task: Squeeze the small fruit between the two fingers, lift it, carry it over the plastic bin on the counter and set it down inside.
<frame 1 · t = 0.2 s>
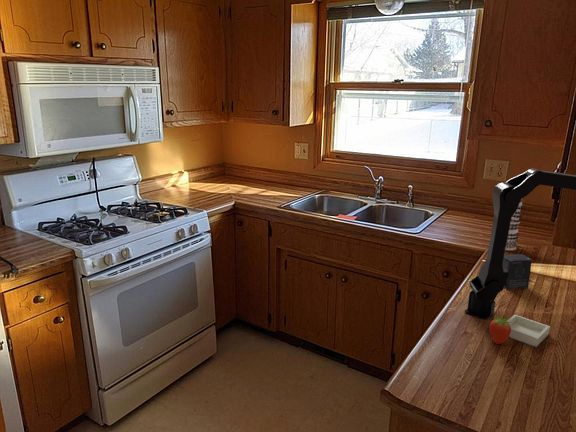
decorative candle: (505, 247, 194), on the countertop
bin: (524, 334, 125), on the countertop
box: (512, 286, 156), on the countertop
fruit: (498, 343, 120), on the countertop
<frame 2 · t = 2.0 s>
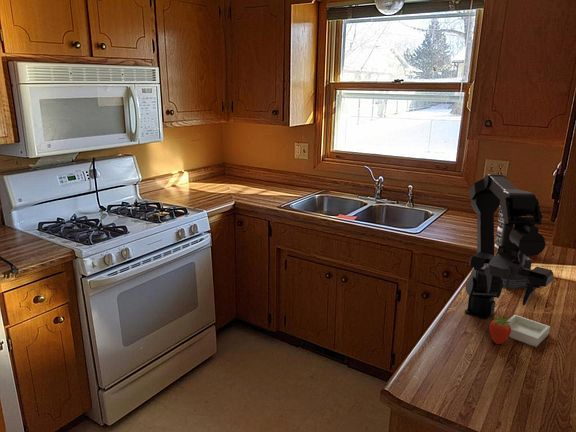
hand: (505, 298, 117), 13 cm above the countertop, tool pointing down, fingers open, 9 cm apart
nothing on the countertop moved.
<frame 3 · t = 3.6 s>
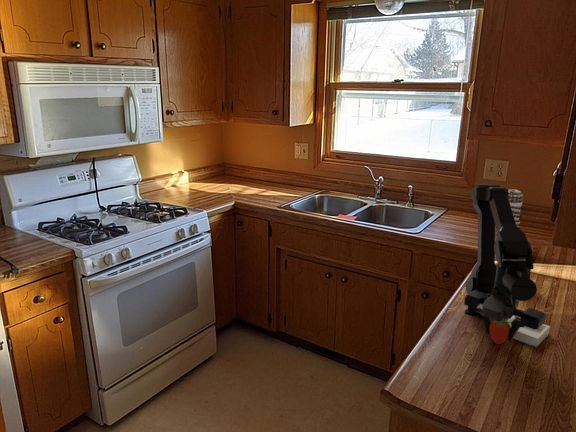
hand: (498, 337, 120), 2 cm above the countertop, tool pointing down, fingers closed on fruit, 5 cm apart
fruit: (498, 343, 120), on the countertop, touching gripper
everything else where it was.
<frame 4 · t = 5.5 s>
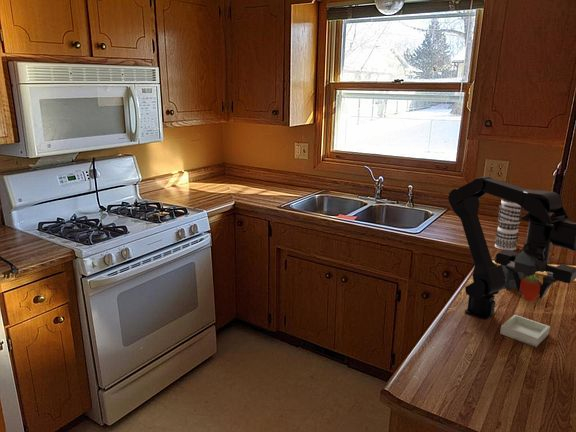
hand: (529, 294, 122), 12 cm above the countertop, tool pointing down, fingers closed on fruit, 5 cm apart
fruit: (528, 301, 122), point 10 cm above the countertop, touching gripper
everything else where it was.
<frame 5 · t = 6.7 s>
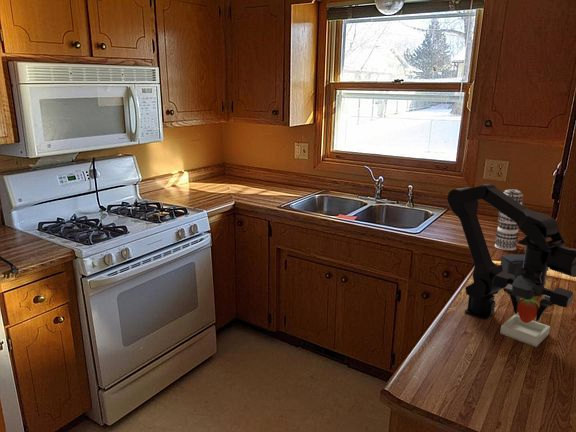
hand: (526, 316, 124), 5 cm above the countertop, tool pointing down, fingers closed on fruit, 5 cm apart
fruit: (525, 322, 124), point 3 cm above the countertop, touching gripper
everything else where it was.
when the fingers open (4 cm above the countertop, at t = 7.5 s): fruit stays where it is, resting on bin.
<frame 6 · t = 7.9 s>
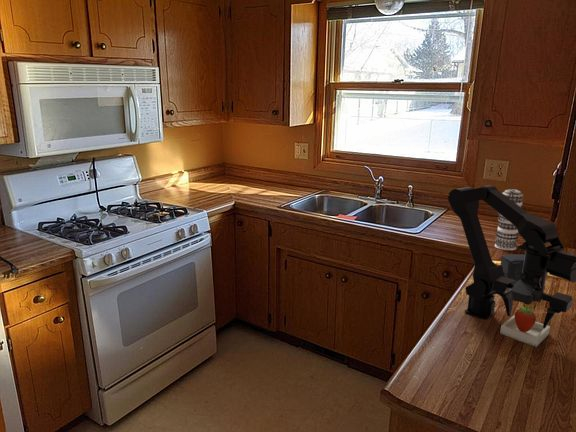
hand: (526, 321, 124), 4 cm above the countertop, tool pointing down, fingers open, 9 cm apart
fruit: (523, 332, 125), resting on bin
everything else where it was.
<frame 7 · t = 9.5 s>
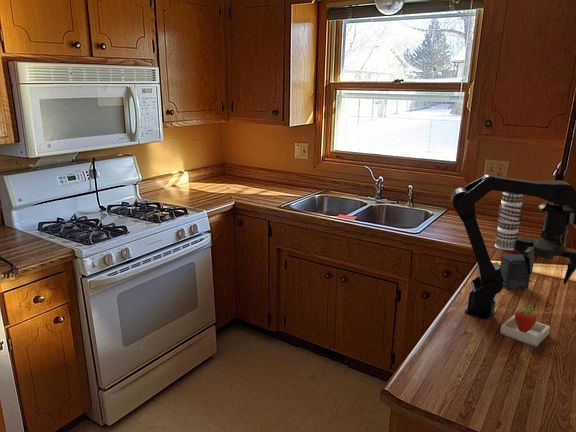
hand: (547, 279, 129), 13 cm above the countertop, tool pointing down, fingers open, 9 cm apart
nothing on the countertop moved.
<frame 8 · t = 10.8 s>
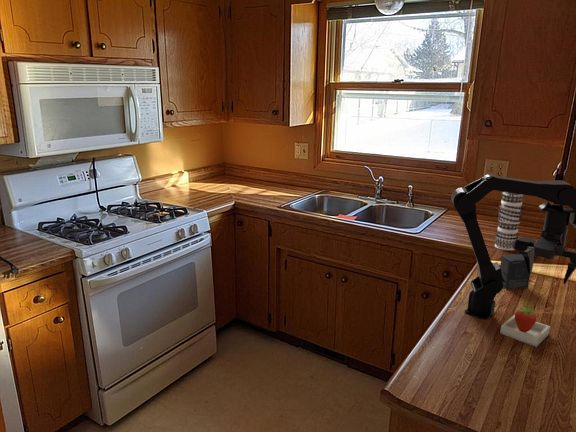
hand: (546, 278, 129), 13 cm above the countertop, tool pointing down, fingers open, 9 cm apart
nothing on the countertop moved.
at the end: fruit inside the target area on the bin (0.3 cm from its centre), point 0.4 cm above the bin's base; the gripper is holding nothing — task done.
